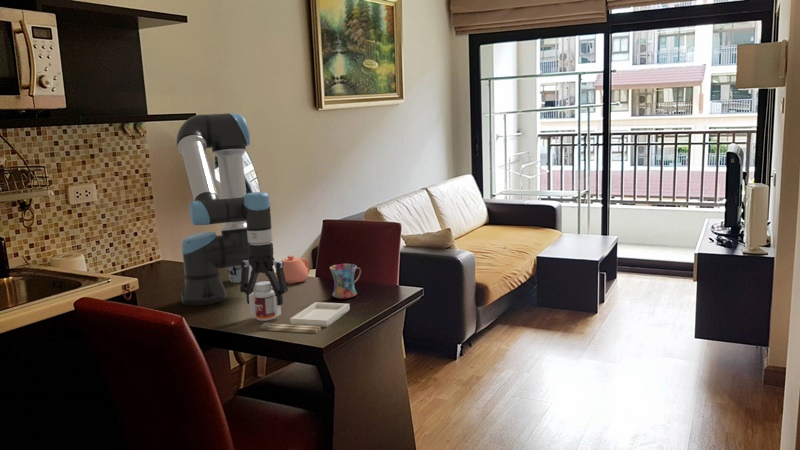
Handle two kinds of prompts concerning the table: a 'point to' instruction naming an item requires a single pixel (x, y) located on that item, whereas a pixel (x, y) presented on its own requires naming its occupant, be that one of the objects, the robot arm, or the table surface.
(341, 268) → the mug
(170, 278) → the table surface
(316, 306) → the tray
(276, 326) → the tongs
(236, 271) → the mug
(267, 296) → the pill bottle
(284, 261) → the pink teapot
